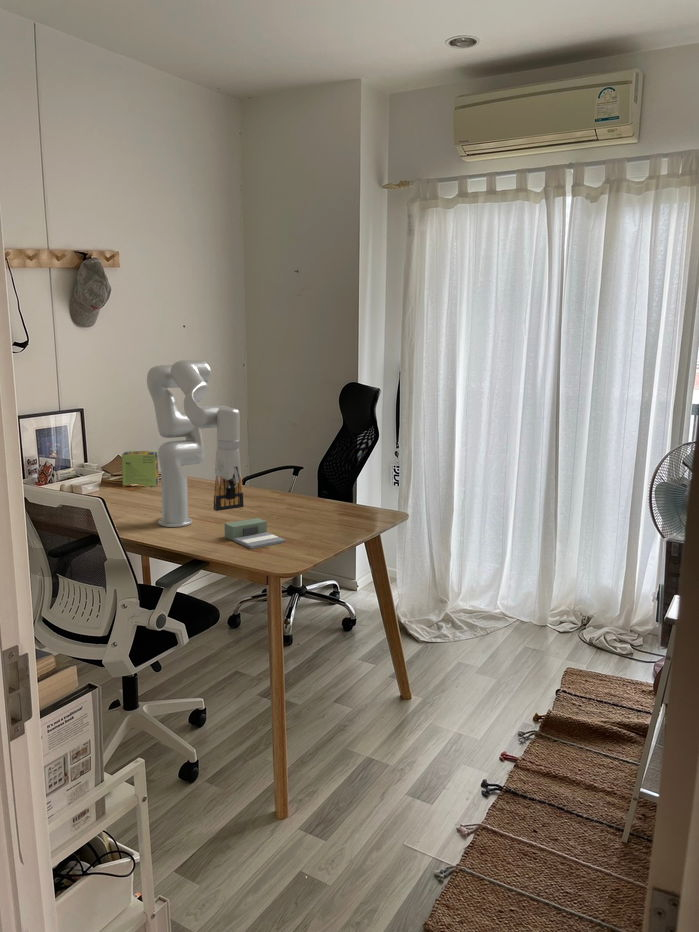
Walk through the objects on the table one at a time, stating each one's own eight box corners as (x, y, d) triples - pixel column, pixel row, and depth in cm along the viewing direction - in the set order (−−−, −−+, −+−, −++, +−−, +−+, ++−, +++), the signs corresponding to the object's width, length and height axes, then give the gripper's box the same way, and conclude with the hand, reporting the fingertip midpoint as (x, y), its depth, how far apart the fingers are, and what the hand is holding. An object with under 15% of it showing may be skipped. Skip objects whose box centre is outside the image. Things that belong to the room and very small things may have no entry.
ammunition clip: (241, 505, 256) (241, 472, 254) (243, 506, 255) (243, 472, 252) (213, 509, 250) (213, 475, 247) (215, 511, 248) (215, 476, 246)
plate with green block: (224, 536, 265) (224, 523, 264) (257, 530, 274) (257, 517, 273) (251, 549, 252) (251, 534, 251) (285, 542, 260) (285, 528, 259)
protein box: (156, 487, 344) (155, 454, 341) (122, 487, 342) (121, 454, 339) (159, 482, 354) (158, 450, 351) (126, 482, 352) (124, 450, 349)
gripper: (207, 442, 252) (207, 495, 255) (230, 449, 240) (230, 504, 243) (226, 440, 256) (227, 492, 260) (250, 447, 244) (250, 501, 248)
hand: (228, 497), depth 251 cm, fingers closed on ammunition clip, 2 cm apart
